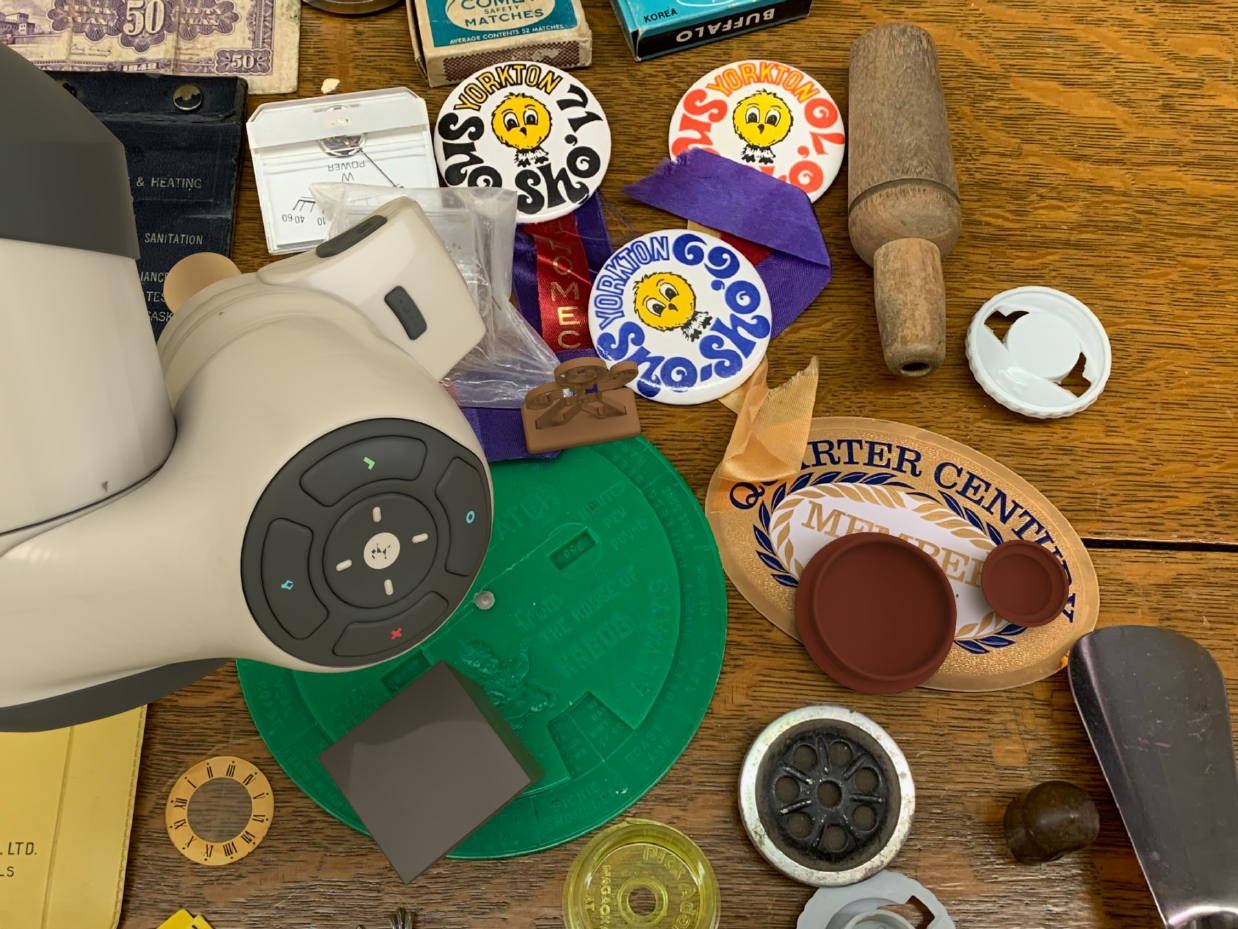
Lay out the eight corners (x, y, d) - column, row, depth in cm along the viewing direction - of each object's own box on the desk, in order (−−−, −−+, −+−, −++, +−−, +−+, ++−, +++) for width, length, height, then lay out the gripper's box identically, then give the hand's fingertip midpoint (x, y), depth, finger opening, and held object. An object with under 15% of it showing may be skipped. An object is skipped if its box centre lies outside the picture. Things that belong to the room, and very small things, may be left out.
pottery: (773, 551, 72) (784, 539, 68) (1024, 508, 73) (1051, 493, 69) (809, 709, 69) (824, 707, 64) (1071, 660, 70) (1102, 654, 66)
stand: (452, 851, 65) (405, 887, 48) (385, 755, 67) (316, 756, 49) (546, 774, 67) (532, 781, 49) (477, 682, 68) (442, 658, 51)
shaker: (260, 410, 53) (189, 336, 44) (225, 363, 54) (148, 280, 44) (315, 373, 54) (256, 292, 44) (279, 327, 55) (214, 238, 45)
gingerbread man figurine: (528, 455, 73) (517, 399, 62) (520, 408, 74) (508, 345, 63) (641, 436, 74) (652, 377, 63) (632, 390, 75) (640, 324, 64)
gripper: (99, 606, 37) (94, 484, 49) (519, 312, 41) (424, 263, 53) (-27, 490, 34) (-1, 388, 45) (443, 182, 38) (359, 160, 49)
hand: (231, 319), depth 49 cm, fingers closed on shaker, 3 cm apart
